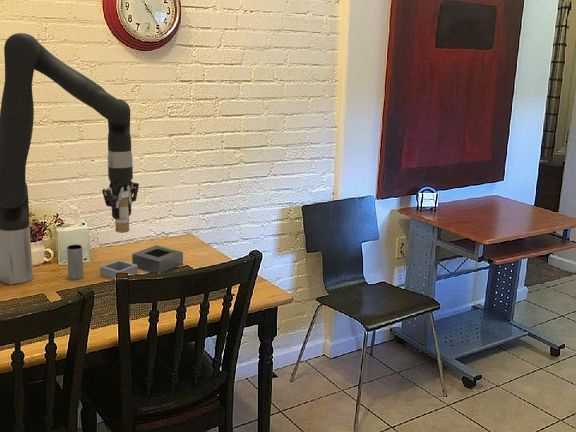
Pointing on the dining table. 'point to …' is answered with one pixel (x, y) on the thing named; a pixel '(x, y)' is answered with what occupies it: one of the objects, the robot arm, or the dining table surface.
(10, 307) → the dining table surface
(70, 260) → the gray cylinder
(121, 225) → the sprinkles bottle
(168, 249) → the port block
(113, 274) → the blue-grey square tray
